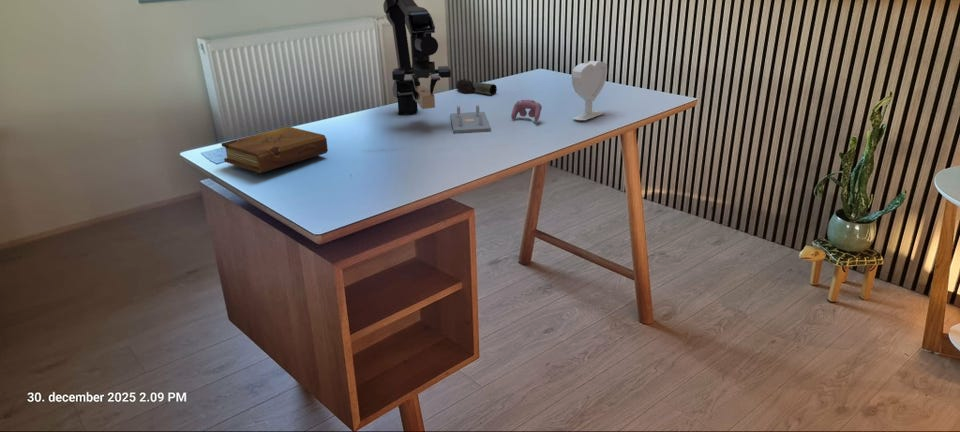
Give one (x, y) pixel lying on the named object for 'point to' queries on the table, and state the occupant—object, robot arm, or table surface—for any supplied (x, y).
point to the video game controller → (527, 104)
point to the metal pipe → (475, 87)
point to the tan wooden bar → (424, 97)
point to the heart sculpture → (589, 85)
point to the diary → (274, 148)
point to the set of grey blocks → (476, 115)
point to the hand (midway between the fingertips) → (423, 99)
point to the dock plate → (469, 123)
